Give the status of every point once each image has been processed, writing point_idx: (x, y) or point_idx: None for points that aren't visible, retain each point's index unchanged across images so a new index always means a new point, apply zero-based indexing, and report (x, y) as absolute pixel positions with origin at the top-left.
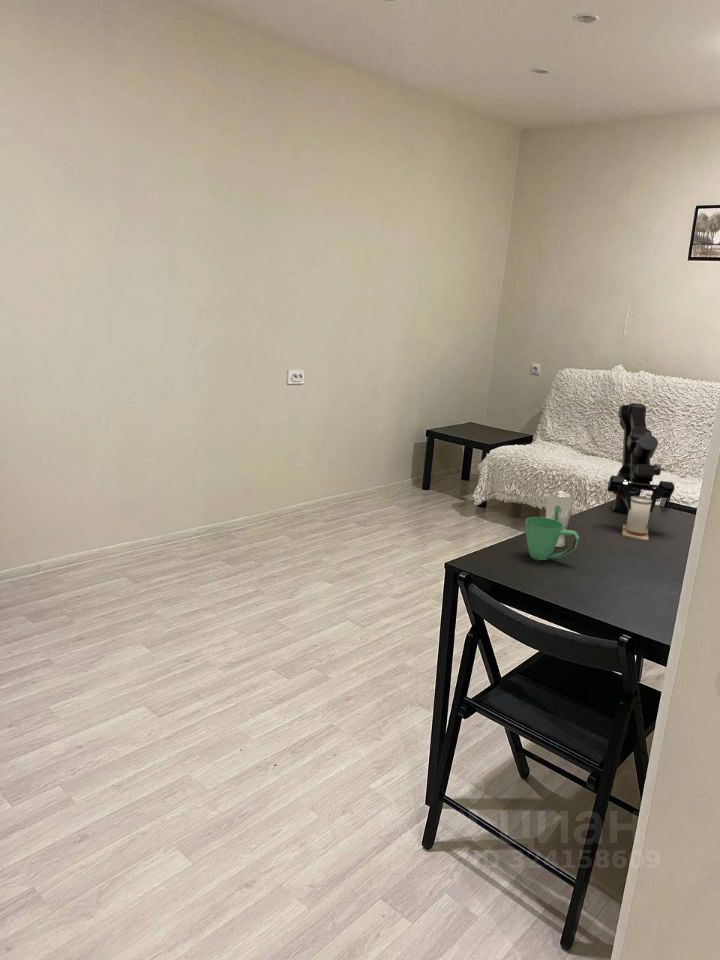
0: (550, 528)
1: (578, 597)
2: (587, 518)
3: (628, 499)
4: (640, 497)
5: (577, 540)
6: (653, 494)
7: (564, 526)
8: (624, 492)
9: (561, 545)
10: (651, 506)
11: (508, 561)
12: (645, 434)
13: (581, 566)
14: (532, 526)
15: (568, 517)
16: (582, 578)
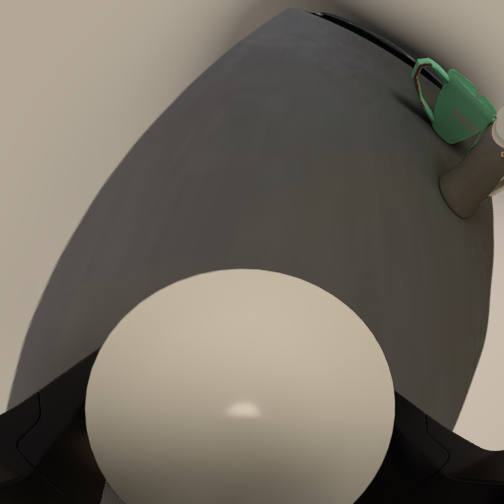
0: (456, 71)
1: (365, 47)
2: None
3: (399, 405)
4: (250, 497)
5: (416, 63)
6: (27, 482)
7: (470, 148)
8: (473, 449)
9: (442, 175)
10: None
11: None
12: None
13: (385, 96)
14: (475, 89)
15: (481, 132)
16: (373, 70)
